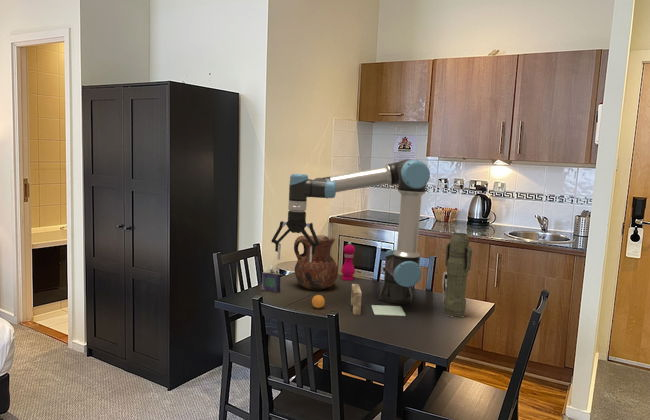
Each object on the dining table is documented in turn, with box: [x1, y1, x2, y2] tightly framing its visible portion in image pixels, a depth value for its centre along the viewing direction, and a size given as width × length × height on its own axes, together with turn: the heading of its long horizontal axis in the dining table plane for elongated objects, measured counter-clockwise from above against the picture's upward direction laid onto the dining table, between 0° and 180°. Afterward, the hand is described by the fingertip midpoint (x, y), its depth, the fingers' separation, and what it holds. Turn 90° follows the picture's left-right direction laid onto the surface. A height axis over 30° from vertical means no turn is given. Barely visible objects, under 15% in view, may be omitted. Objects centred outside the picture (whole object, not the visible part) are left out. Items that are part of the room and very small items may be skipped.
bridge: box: [350, 283, 363, 316], centre depth 223 cm, size 3×14×9 cm, turn 1°
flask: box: [261, 268, 281, 294], centre depth 244 cm, size 9×3×11 cm, turn 71°
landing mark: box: [371, 304, 406, 317], centre depth 223 cm, size 13×13×1 cm
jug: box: [293, 234, 339, 291], centre depth 256 cm, size 22×21×25 cm
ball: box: [311, 294, 326, 309], centre depth 222 cm, size 6×6×6 cm
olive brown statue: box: [443, 232, 473, 318], centre depth 220 cm, size 9×12×35 cm
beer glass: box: [441, 271, 447, 306], centre depth 234 cm, size 7×7×15 cm
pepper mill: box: [340, 241, 356, 282], centre depth 275 cm, size 7×7×20 cm
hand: (294, 260), depth 221 cm, fingers open, 13 cm apart
